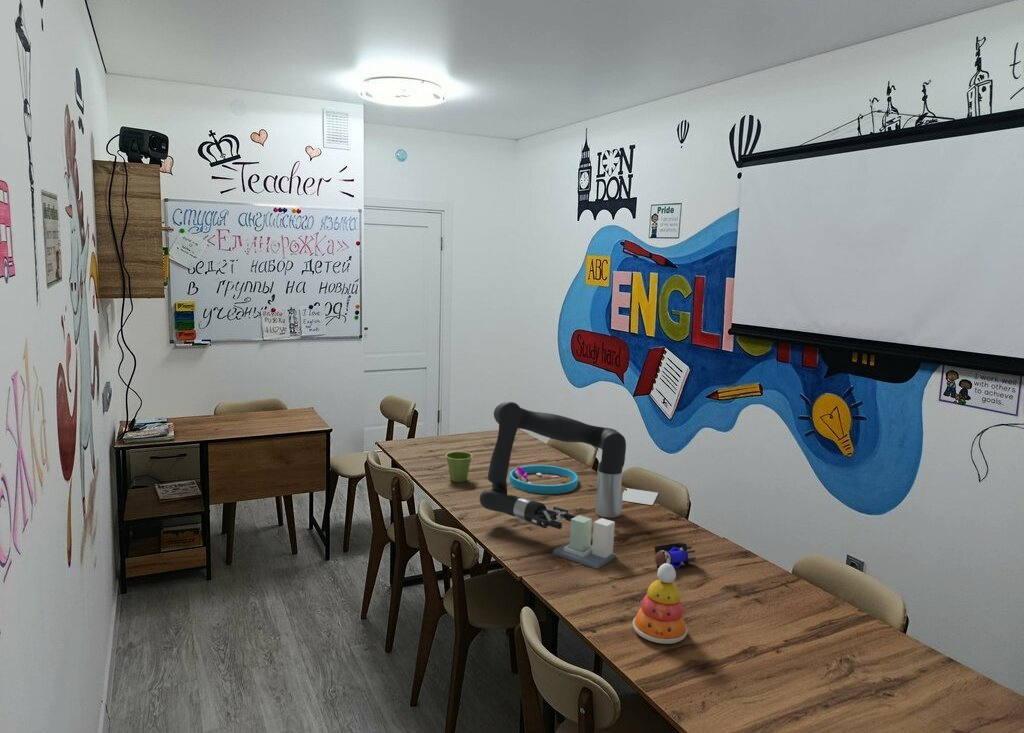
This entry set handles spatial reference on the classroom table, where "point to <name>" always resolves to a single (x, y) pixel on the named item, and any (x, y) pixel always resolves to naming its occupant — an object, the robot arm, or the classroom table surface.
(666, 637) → the stacking toy
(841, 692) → the classroom table surface
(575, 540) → the sage pillar
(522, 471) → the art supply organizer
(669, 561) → the character figurine
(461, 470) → the plant pot
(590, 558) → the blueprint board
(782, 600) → the classroom table surface
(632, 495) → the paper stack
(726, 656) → the classroom table surface
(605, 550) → the standing pillar
